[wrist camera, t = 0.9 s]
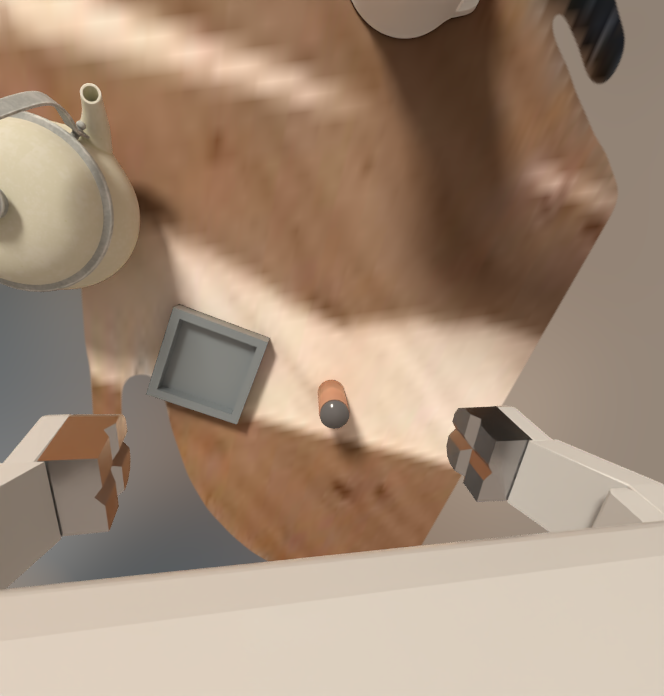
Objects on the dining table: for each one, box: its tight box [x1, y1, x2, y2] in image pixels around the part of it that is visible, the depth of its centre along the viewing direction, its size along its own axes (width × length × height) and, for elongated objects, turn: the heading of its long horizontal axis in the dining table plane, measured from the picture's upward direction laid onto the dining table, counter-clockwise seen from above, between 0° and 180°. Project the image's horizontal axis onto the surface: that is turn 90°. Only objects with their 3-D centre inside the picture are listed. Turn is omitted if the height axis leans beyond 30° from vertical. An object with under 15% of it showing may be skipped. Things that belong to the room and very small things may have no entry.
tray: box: [146, 304, 270, 424], centre depth 56 cm, size 13×13×2 cm
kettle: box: [0, 83, 140, 292], centre depth 39 cm, size 25×18×25 cm
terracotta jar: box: [318, 380, 349, 429], centre depth 56 cm, size 4×4×8 cm
